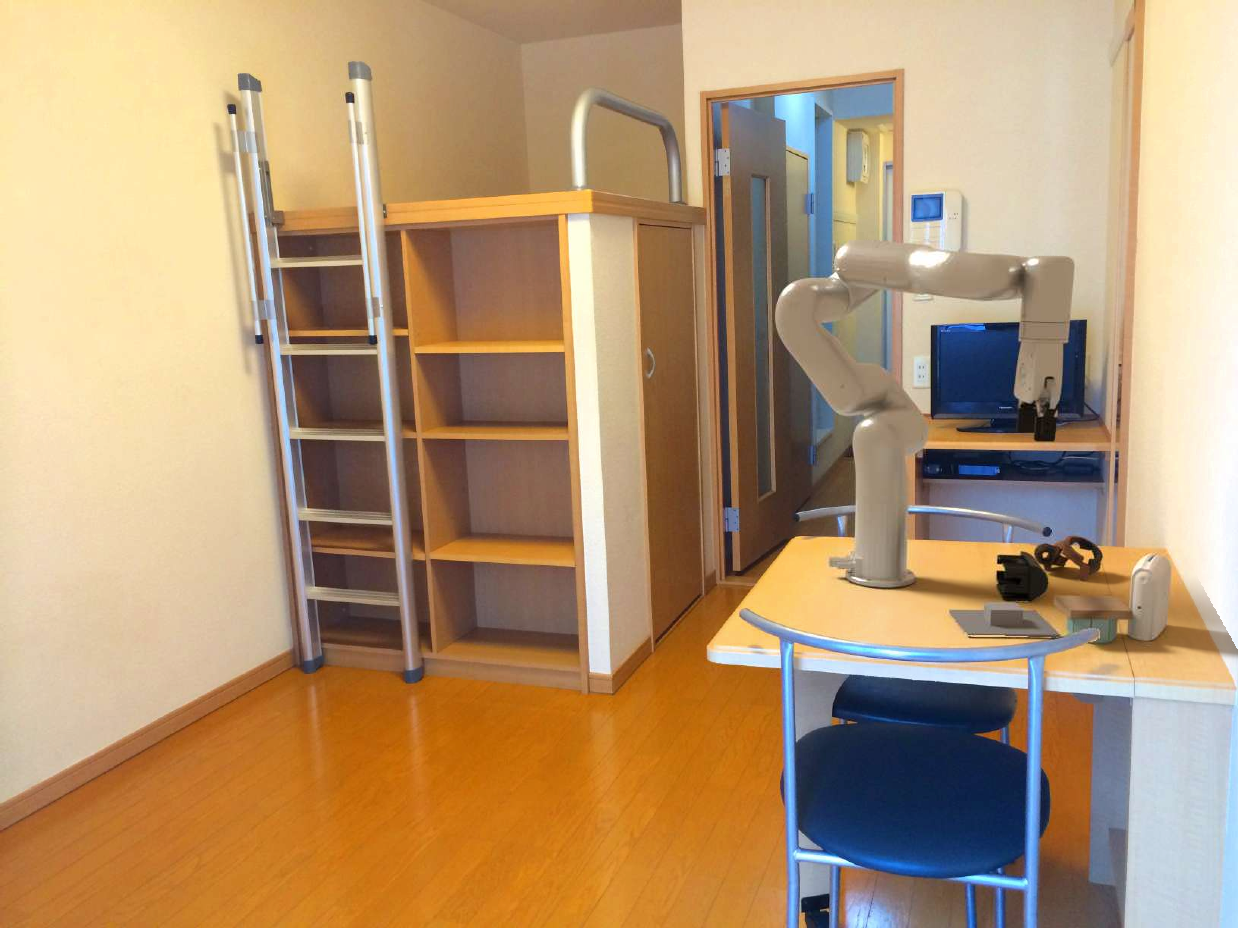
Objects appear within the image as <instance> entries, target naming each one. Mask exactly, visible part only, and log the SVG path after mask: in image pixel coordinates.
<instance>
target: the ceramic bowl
mask: <svg viewBox="0 0 1238 928" xmlns="http://www.w3.org/2000/svg"><path fill="white" fill-rule="evenodd" d="M1118 622H1119V619H1070V618H1069V617H1068V616H1067V615H1066V631H1067V635H1069V634H1072V633H1075V632H1079V631H1081V630H1083V629H1088V628H1096V629H1099V631H1100V638H1098V639H1097V640H1096V641H1093V642H1091V643H1090V644H1093V645H1095V644H1096V645H1105V644H1111V643H1113V642H1115V640H1116V639H1115V638H1116V637H1117V634H1118V633H1117V632H1118Z"/></svg>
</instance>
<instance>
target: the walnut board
mask: <svg viewBox="0 0 1238 928" xmlns="http://www.w3.org/2000/svg"><path fill="white" fill-rule="evenodd" d="M1053 605H1055V606H1056V608H1058V610H1060V611H1061V612H1062V613H1063V614H1064V615H1065V616H1066V617H1067V616H1068V617H1069V618H1070V619H1118V620H1121V621H1122V620H1132V613H1133V611H1132V610H1131V609H1130V608H1129V606H1127V605H1126V604H1124V602H1122V601H1120V600H1119V599H1117V598H1116V597H1115V596H1114V595H1054V597H1053Z"/></svg>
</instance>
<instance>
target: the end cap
mask: <svg viewBox="0 0 1238 928" xmlns="http://www.w3.org/2000/svg"><path fill="white" fill-rule="evenodd" d="M996 565H1002V567H1003V568H1004V570H997V569H996V571H995V572H996V573H995V579H996V582H997V583H996V585H995V586H996V587H995V588H996V590H997V591H998V593H999V596H1001V599H1002V600H1003V601H1004V602H1011V601H1028V602H1027V603H1032V602H1034V601H1036V600H1037V599H1038V598H1040V597H1042V596H1043V595H1044V594H1045V593H1046V592H1047V590H1048V587H1049V583H1050V582H1049V578H1048V577H1049V576H1048V575H1047V573H1046V571H1044V568H1043V567H1042V565H1041V564H1039V563H1038V561H1037V560H1036V558H1035V556H1034V555H1032V554H1031V553H1029V552H1026V551H1024V550H1023V551H1020V554H997V556H996Z"/></svg>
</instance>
